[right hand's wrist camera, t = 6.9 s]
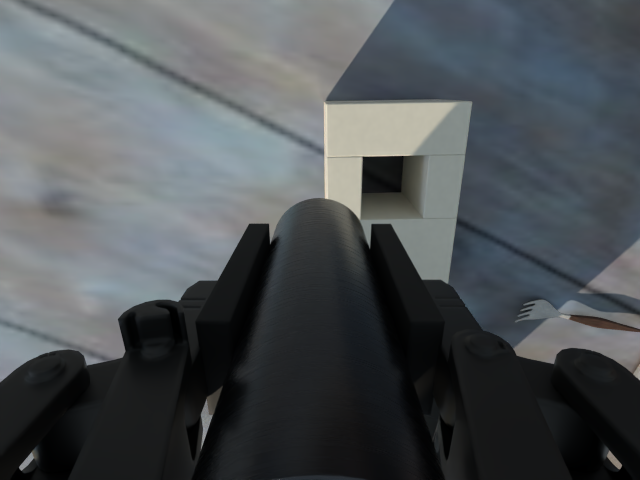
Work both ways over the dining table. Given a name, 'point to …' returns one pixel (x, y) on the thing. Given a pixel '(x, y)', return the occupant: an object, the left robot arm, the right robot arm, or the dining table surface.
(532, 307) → the fork
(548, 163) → the dining table surface
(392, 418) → the peg
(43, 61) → the dining table surface
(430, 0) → the dining table surface
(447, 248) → the peg block
